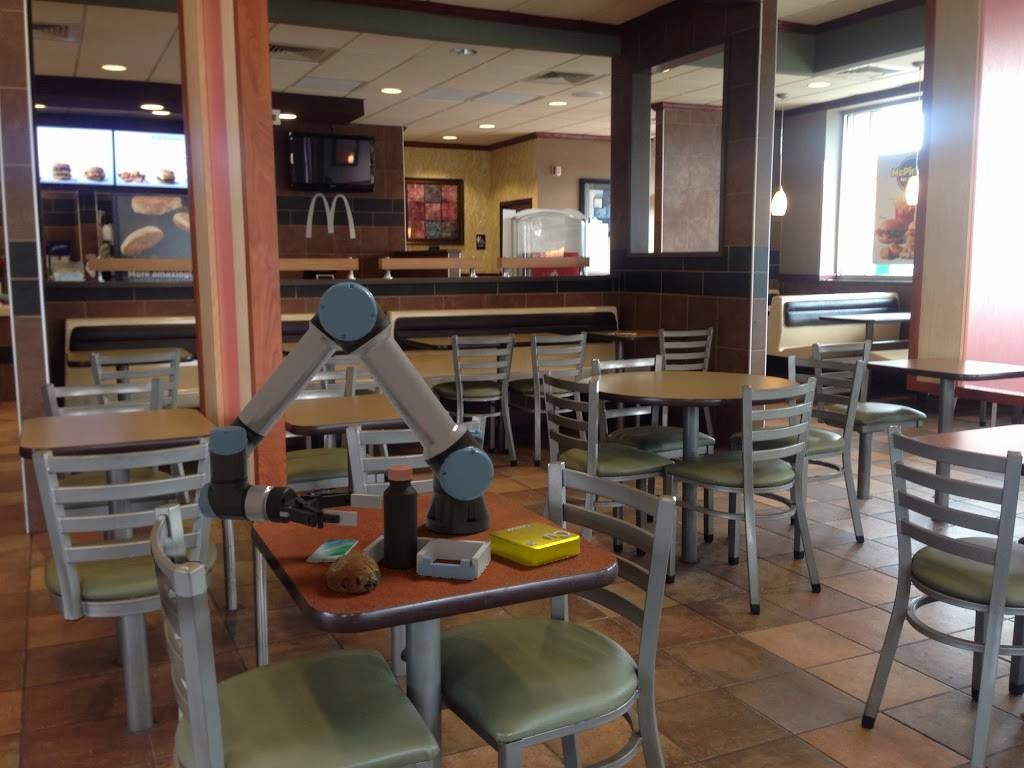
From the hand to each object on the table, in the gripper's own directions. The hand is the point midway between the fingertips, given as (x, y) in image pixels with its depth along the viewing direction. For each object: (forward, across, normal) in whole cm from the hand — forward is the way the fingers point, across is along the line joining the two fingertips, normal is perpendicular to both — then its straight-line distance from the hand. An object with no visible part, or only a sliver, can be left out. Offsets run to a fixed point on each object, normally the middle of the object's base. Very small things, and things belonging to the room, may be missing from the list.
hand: (369, 510), depth 181 cm
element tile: (+32, -14, -12) cm, 37 cm away
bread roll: (+2, +14, -11) cm, 18 cm away
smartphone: (-10, -5, -12) cm, 16 cm away
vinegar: (+7, 0, -11) cm, 13 cm away
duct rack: (+12, 0, -11) cm, 16 cm away
